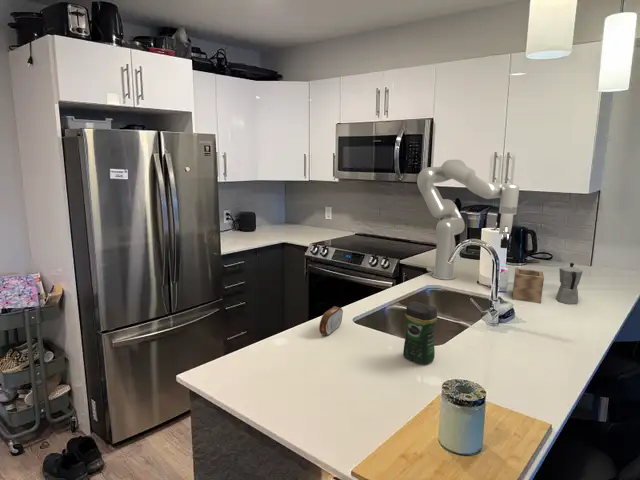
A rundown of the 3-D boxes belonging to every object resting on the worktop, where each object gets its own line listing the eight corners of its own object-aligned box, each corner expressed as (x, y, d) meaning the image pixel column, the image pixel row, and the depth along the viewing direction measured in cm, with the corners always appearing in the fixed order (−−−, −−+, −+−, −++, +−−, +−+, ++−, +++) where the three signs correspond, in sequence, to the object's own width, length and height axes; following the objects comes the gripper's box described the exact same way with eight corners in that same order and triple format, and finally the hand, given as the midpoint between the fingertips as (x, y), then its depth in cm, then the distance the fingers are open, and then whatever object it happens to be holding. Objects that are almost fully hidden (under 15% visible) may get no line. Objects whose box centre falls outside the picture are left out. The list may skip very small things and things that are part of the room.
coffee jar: (438, 359, 142) (442, 305, 138) (424, 367, 137) (428, 311, 133) (413, 349, 149) (416, 297, 145) (398, 356, 144) (402, 303, 140)
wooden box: (512, 299, 201) (515, 274, 199) (512, 292, 212) (515, 268, 210) (540, 303, 197) (544, 277, 195) (539, 295, 208) (542, 271, 205)
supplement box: (503, 288, 217) (505, 266, 215) (506, 292, 211) (509, 269, 209) (491, 288, 218) (493, 265, 215) (494, 292, 212) (496, 269, 210)
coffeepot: (553, 295, 208) (557, 258, 205) (575, 298, 205) (580, 260, 202) (558, 305, 194) (563, 266, 191) (582, 308, 191) (588, 268, 187)
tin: (336, 323, 170) (336, 302, 168) (343, 325, 169) (344, 304, 167) (318, 337, 157) (318, 315, 155) (326, 339, 156) (326, 317, 154)
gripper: (499, 207, 216) (496, 241, 219) (499, 212, 200) (495, 248, 204) (516, 208, 213) (512, 243, 217) (517, 213, 197) (512, 250, 201)
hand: (504, 245), depth 210 cm, fingers open, 9 cm apart
